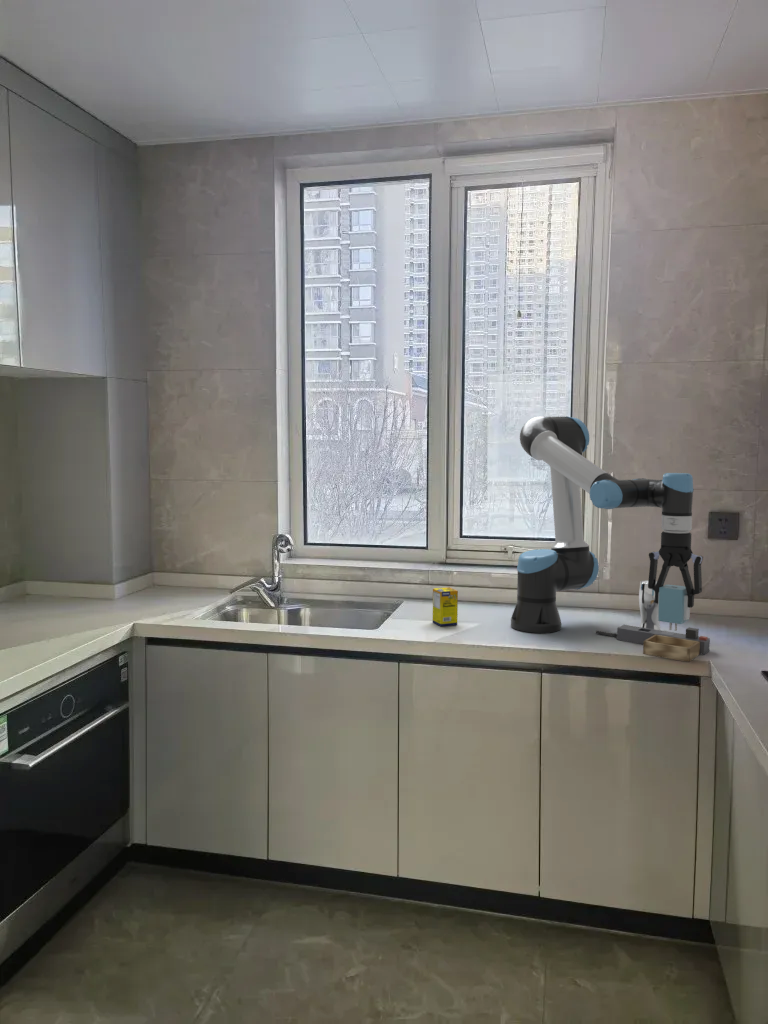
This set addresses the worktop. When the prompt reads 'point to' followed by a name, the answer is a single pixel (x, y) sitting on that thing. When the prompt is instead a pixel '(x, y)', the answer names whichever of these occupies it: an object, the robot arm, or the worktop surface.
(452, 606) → the supplement box
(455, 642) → the worktop surface
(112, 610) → the worktop surface
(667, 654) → the tray
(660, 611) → the block
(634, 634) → the power strip
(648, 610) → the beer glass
